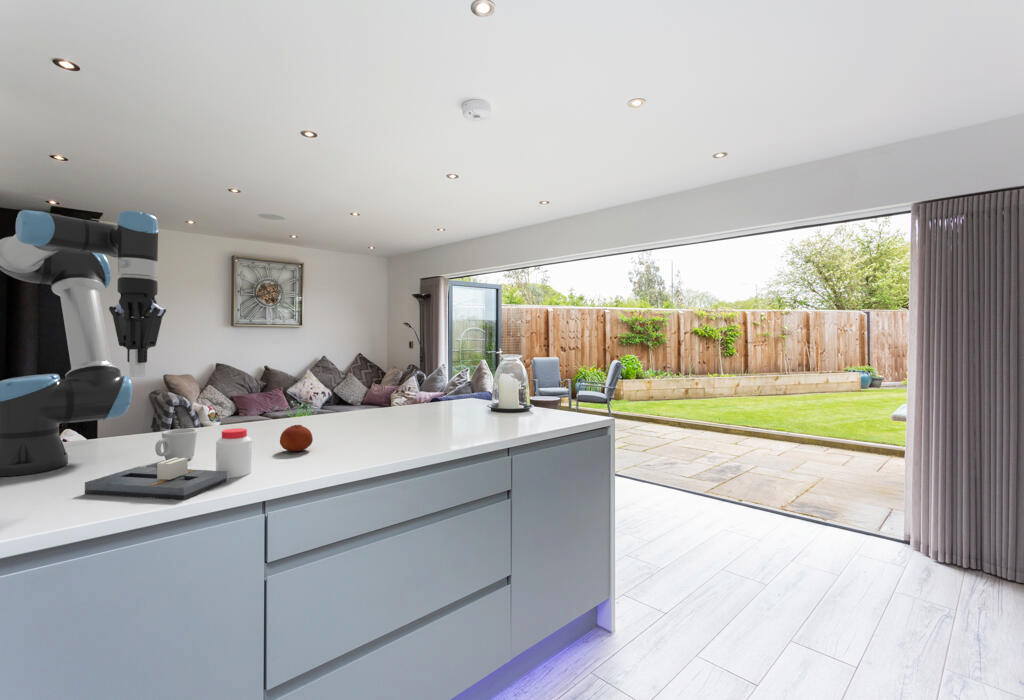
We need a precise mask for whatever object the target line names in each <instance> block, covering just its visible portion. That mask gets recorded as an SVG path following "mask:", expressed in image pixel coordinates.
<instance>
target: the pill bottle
mask: <svg viewBox="0 0 1024 700" xmlns="http://www.w3.org/2000/svg"><path fill="white" fill-rule="evenodd" d="M247 433H248V429H247V428H239V427H238V428H235V427H234V428H228V429H223V430H221V437H220V438H218V439H217V441H216V442H215V445H216V446H215V447H216V448H215V471H227V479H232V478H240V477H245V476H249V475H250V474H251V473H252V454H253V453H252V450H253V449H252V446H253V443H252V442H253V440H252V438H251V437H250V436H248V434H247Z"/></svg>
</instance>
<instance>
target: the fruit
mask: <svg viewBox="0 0 1024 700" xmlns="http://www.w3.org/2000/svg"><path fill="white" fill-rule="evenodd" d="M313 441H314V439H313V434H312V432H311V430H310V429H308V428H307V427H305V426H303V425H302V424H294V425H290V426H288V427H286V429H284V430H283V431H282V433H280V438H279V445H280V446H281V447H282V449H284V450H286V451H289V452H293V453H295V452H301V451H305V450H306V449H308V448H309V447H311V445H312V443H313Z"/></svg>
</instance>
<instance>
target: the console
mask: <svg viewBox="0 0 1024 700" xmlns="http://www.w3.org/2000/svg"><path fill="white" fill-rule="evenodd" d="M179 477H185V480H167V479H157V467H154V466H153V467H152V466H136V467H132V468H129V469H126V470H122V471H119V472H116V473H111V474H109V475H106V476H101V477H98V478H95V479H92V480H89V481H85V482H84V495H93V496H94V495H95V496H97V495H98V496H112V497H113V496H114V497H126V498H142V499H144V498H146V499H159V500H161V499H162V500H176V501H177V500H178V501H185V500H188V499H191V498H192V497H194V496H197V495H199V494H202V493H204V492H206V491H209V490H211V489H213V488H217V487H218V486H220V485H223V484H225V483H227V482H228V478H227V471H216V470H210V469H209V470H207V469H192V468H191V469H189V468H188V470H187V474H184V475H181V476H179Z"/></svg>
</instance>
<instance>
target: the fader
mask: <svg viewBox="0 0 1024 700" xmlns="http://www.w3.org/2000/svg"><path fill="white" fill-rule="evenodd" d="M188 461H189V460H188V458H173V459H169V460H166V459H165V460H163V461H161V462H157V463H156V464H157V465H156V466H157V467H156V468H157V479H167V480H185V477H179V476H181V475H184V474H187V470H188V469H189V467H188Z"/></svg>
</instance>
